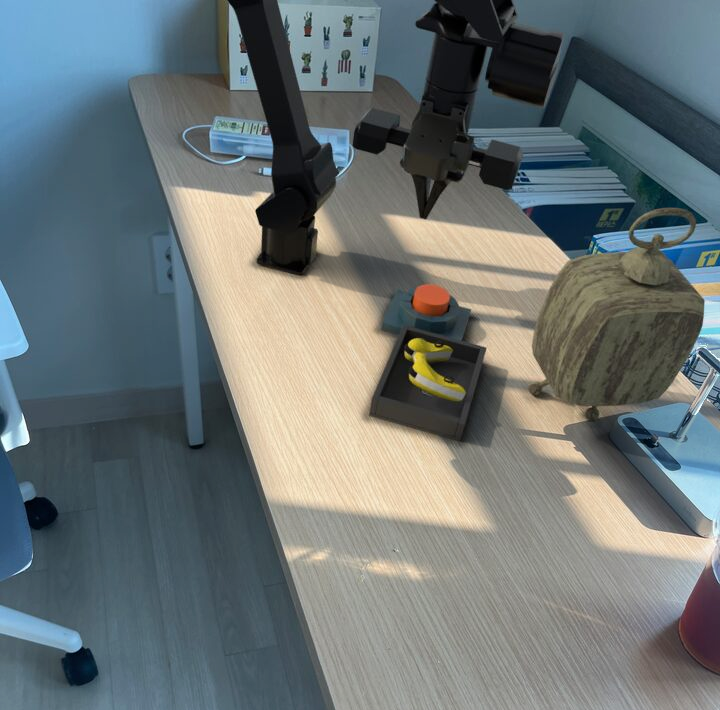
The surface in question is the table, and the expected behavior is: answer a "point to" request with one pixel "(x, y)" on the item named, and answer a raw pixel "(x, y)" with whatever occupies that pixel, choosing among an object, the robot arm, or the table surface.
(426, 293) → the button
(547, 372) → the tabletop clock
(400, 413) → the tray
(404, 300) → the dock switch
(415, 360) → the yellow curved piece
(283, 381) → the table surface
